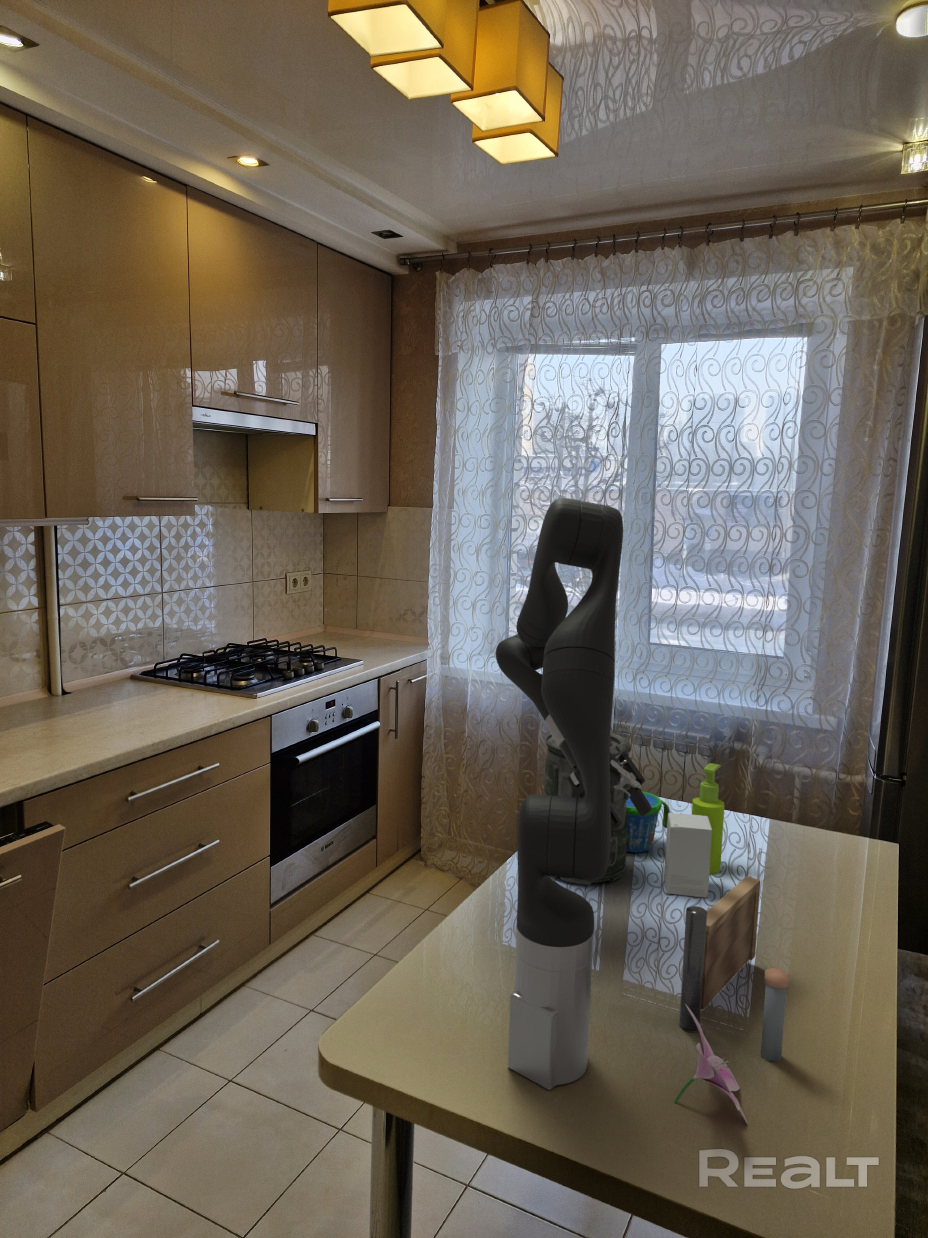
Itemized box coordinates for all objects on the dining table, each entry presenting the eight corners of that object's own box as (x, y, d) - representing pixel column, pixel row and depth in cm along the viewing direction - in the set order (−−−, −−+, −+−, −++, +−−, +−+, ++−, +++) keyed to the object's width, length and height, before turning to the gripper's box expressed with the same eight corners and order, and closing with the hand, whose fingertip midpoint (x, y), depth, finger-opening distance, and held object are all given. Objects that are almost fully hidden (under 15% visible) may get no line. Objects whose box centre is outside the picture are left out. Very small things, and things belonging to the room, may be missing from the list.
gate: (704, 1012, 107) (709, 926, 106) (690, 1006, 108) (695, 921, 107) (754, 956, 121) (760, 880, 120) (741, 952, 122) (747, 876, 121)
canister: (550, 846, 163) (555, 711, 160) (629, 858, 159) (636, 719, 155) (532, 879, 148) (538, 731, 145) (619, 893, 144) (627, 740, 140)
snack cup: (604, 859, 158) (606, 809, 157) (587, 838, 168) (589, 791, 167) (679, 855, 160) (682, 806, 159) (658, 835, 171) (661, 788, 170)
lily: (725, 1171, 84) (774, 1094, 84) (629, 1087, 89) (675, 1015, 89) (738, 1130, 95) (781, 1062, 94) (652, 1058, 100) (693, 993, 100)
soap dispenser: (725, 864, 157) (731, 764, 155) (715, 877, 151) (722, 773, 149) (695, 856, 160) (701, 759, 158) (684, 869, 154) (690, 767, 152)
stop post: (778, 1066, 99) (784, 983, 97) (755, 1056, 101) (761, 975, 99) (786, 1055, 101) (792, 974, 100) (763, 1045, 103) (769, 965, 101)
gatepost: (694, 1035, 104) (702, 918, 102) (675, 1026, 106) (682, 911, 104) (702, 1025, 106) (710, 910, 104) (684, 1017, 108) (691, 904, 106)
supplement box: (708, 899, 142) (712, 830, 141) (665, 894, 144) (669, 826, 142) (704, 880, 150) (708, 815, 148) (663, 876, 151) (667, 811, 149)
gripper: (564, 729, 125) (622, 822, 119) (616, 713, 135) (672, 798, 129) (536, 754, 130) (591, 844, 124) (589, 736, 140) (641, 819, 134)
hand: (632, 820), depth 127 cm, fingers open, 8 cm apart
